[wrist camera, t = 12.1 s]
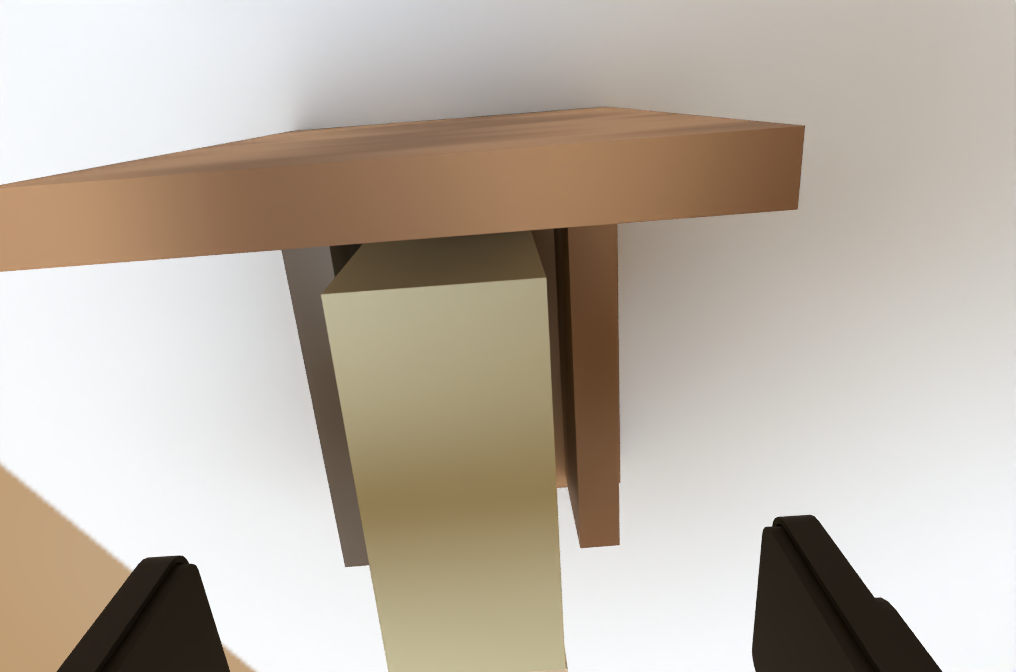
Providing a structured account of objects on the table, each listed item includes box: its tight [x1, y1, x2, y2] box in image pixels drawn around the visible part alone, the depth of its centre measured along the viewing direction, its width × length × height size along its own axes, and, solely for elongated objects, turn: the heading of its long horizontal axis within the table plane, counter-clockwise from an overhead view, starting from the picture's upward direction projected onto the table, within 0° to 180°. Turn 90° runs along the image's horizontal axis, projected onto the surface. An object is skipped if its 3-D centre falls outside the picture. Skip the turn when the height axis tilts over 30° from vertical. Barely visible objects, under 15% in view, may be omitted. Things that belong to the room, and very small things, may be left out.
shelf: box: [0, 107, 805, 567], centre depth 16 cm, size 10×13×14 cm
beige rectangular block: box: [321, 230, 568, 672], centre depth 17 cm, size 4×10×9 cm, turn 4°
